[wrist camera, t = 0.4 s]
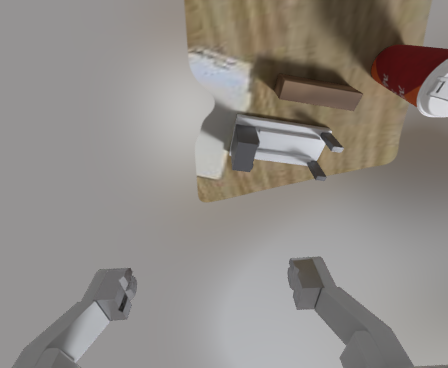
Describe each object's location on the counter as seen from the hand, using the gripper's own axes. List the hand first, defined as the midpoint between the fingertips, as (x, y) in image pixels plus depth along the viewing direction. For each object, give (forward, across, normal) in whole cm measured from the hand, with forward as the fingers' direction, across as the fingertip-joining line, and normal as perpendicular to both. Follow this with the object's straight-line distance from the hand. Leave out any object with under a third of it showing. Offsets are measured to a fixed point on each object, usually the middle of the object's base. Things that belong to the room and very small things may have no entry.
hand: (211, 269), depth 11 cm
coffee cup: (+36, -31, -5) cm, 48 cm away
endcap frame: (+38, -13, +9) cm, 41 cm away
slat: (+37, -18, -2) cm, 41 cm away
